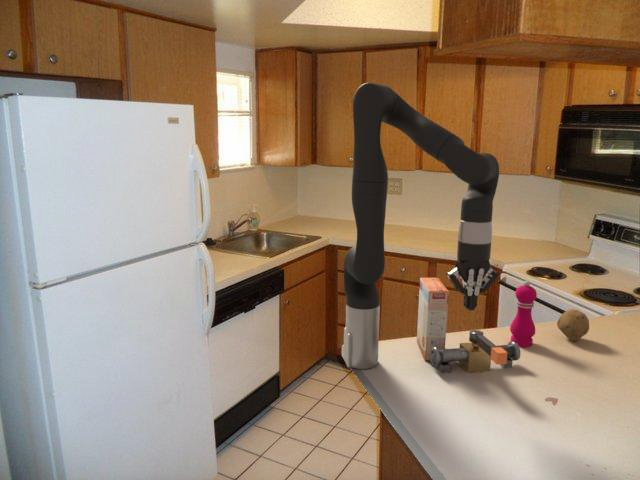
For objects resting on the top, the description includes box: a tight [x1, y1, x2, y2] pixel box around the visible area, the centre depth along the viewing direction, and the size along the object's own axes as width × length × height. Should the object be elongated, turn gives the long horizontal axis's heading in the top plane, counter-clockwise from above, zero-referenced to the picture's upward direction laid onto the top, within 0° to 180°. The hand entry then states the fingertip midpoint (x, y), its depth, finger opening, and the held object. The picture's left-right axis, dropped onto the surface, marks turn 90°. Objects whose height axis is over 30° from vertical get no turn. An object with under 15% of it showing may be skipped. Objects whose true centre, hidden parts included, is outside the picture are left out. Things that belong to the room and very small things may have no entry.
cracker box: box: [416, 277, 450, 361], centre depth 149 cm, size 14×6×21 cm, turn 179°
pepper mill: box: [509, 280, 538, 348], centre depth 155 cm, size 7×7×20 cm
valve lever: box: [468, 329, 508, 365], centre depth 133 cm, size 16×4×3 cm, turn 10°
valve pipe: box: [430, 341, 521, 374], centre depth 140 cm, size 24×6×7 cm, turn 100°
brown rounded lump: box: [556, 308, 590, 342], centre depth 159 cm, size 9×9×10 cm
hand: (469, 309), depth 123 cm, fingers closed
